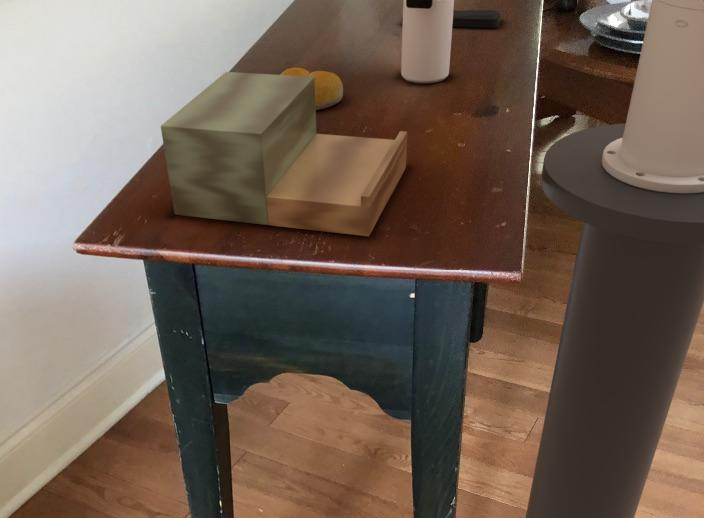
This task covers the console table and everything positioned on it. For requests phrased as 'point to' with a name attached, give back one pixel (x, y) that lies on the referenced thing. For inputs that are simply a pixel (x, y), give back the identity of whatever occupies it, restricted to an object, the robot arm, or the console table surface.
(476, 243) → the console table surface
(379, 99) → the console table surface
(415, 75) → the can
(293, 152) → the green block on base
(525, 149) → the console table surface
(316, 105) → the bread roll
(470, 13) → the remote control
